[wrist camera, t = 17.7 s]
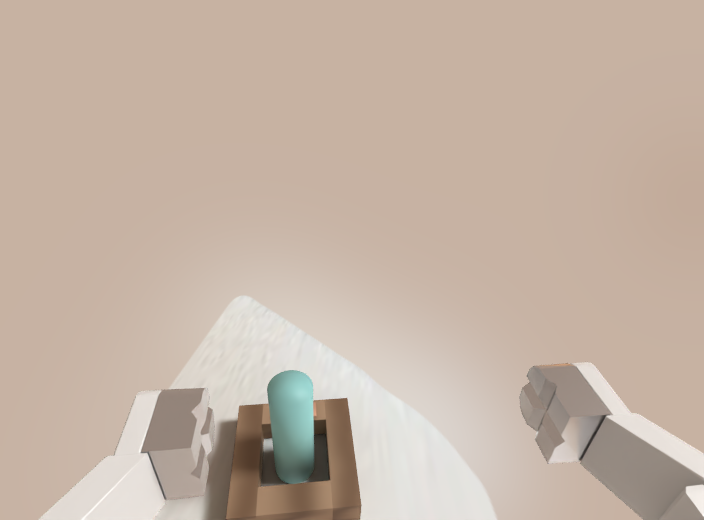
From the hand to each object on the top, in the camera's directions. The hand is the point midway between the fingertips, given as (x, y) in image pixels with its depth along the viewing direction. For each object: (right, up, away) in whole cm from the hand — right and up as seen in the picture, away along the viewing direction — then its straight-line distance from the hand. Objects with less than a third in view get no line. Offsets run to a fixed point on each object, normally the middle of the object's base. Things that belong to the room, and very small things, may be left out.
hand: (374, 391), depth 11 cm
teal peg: (-6, -18, +34) cm, 39 cm away
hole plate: (-6, -18, +34) cm, 39 cm away
